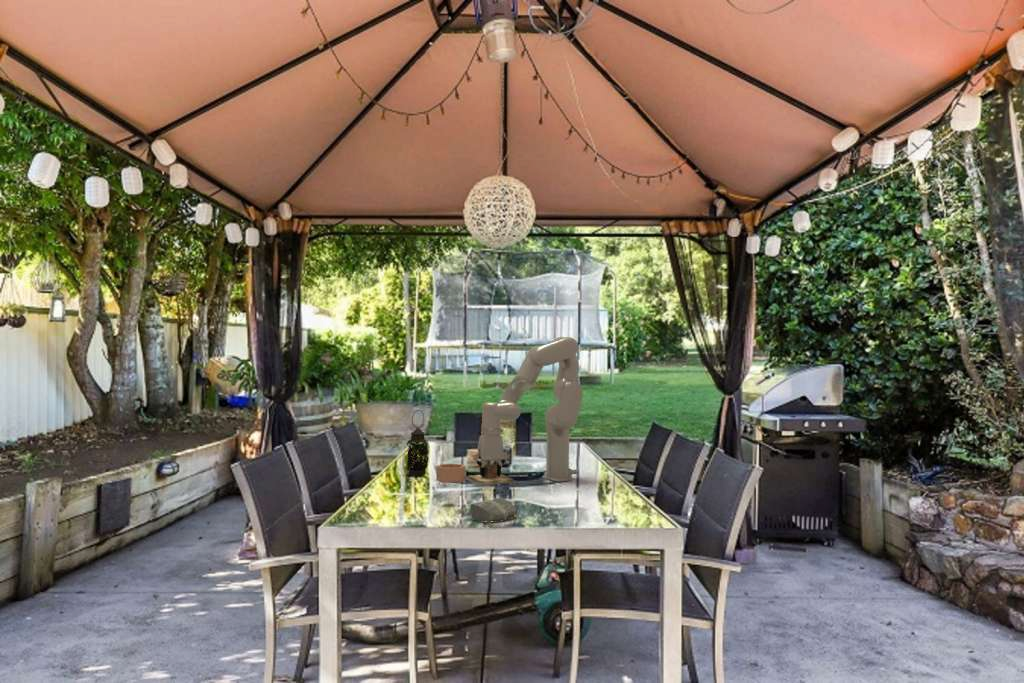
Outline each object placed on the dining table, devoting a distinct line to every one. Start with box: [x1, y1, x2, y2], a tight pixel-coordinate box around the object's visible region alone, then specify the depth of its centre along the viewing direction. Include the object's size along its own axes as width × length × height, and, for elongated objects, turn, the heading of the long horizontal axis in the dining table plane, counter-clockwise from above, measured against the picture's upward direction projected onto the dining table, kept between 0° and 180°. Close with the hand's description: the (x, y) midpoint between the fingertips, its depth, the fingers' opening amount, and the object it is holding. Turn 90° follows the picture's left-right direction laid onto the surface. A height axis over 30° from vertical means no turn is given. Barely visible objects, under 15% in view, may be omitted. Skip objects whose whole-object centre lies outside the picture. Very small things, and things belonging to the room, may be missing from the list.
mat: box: [465, 476, 519, 486], centre depth 297 cm, size 18×18×1 cm
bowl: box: [435, 463, 467, 483], centre depth 296 cm, size 11×11×7 cm
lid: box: [467, 463, 514, 484], centre depth 297 cm, size 14×14×6 cm
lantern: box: [406, 409, 430, 478], centre depth 311 cm, size 10×9×28 cm
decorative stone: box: [469, 497, 517, 522], centre depth 233 cm, size 13×10×6 cm
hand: (490, 475), depth 297 cm, fingers open, 6 cm apart
